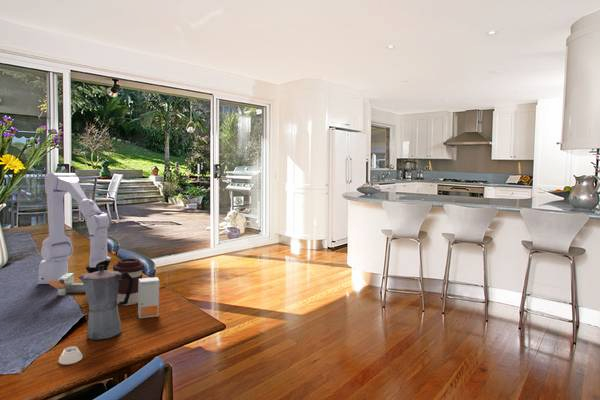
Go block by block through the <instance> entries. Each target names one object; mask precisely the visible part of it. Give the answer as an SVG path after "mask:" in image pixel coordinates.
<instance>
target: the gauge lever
mask: <svg viewBox="0 0 600 400" xmlns="http://www.w3.org/2000/svg"><path fill="white" fill-rule="evenodd" d="M48 284H49V286H51V287H53V288H54V289H55V290H58V289H65V288H66V285H64V284H62V283H60V282H59V281H48Z"/></svg>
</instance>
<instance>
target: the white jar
mask: <svg viewBox="0 0 600 400" xmlns="http://www.w3.org/2000/svg"><path fill="white" fill-rule="evenodd" d="M82 359H83V354H82V352H81V351H80V349H79V347H77V346H68V347H66V348H64V349H63V352H62V353H61V354H60V356H59V358H58V363H59V364H60V365H72V364H76V363H78V362H79V361H81V360H82Z"/></svg>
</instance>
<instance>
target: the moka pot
mask: <svg viewBox="0 0 600 400" xmlns="http://www.w3.org/2000/svg"><path fill="white" fill-rule="evenodd" d="M98 267H99V271H97V272H93V273H88V272H87V273H83V274H81V275H79V276H78V278H79V279H80V280H81V283H83V285H84V287H85V292H86V293H85V297H86V302H87V304H88V309H89V312H88V322H87V336H86V337H87V338H88V339H90V340H95V341H96V340H107V339H110V338H114V337H116V336H117V335H119V334H121V333H122V323H121V319H120V317H121V316H120V313H119V306H126V305H125V304H127V303H128V299H129V296H130V293H131V290H132V287H133V284H134V280H133V278H132V277H131V276H130V275H129V274H128V272H124V273H119V272H117V271H113V270H109V269H107V270H104V265H99V266H98ZM123 279H128V280H129V284H128V288H127V291H126V297H125V299H124V301H123V302H119V304H118V303H117V297H118V284H119V280H123Z"/></svg>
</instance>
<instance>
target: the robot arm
mask: <svg viewBox="0 0 600 400" xmlns="http://www.w3.org/2000/svg"><path fill="white" fill-rule="evenodd" d="M44 190H45V191H44V192H45V194H46V197H47V198H46V199H47V218H48V219H47V220H48V236H47V237H46V238H45V239H44V240H42V242H41V243H42V244H41V250H40V255H41V257H42V260H41V261H40V262H39V265H38V282H37V284H38V285H47V284H48V281H58V279H59V278H60V277H62V276H63V275H65V274H66V273H69V262H68V261H69V260H70V257H71V256H72V255H73V252H74V247H73V245H72V239H71V238H70V237H68V236H67V235H66V233H65V212H64V211H65V210H64V196H65V194H67V193H69V194H70V196H71V197H72V198H73V199H74V200H75V202H77V203H78V206H77V209H78V210H79V212H81V214H82V215H83V217H84V218H85V219H86V221H85V225H86V228H87V229H88V235H89V263H88V264H89V265H86V266H85V271H86V272H87V273H93V272H97V271H99V267H98V266H99V265H104V270H109V269H108V268H109V266H110V263H111V262H112V261H111V259H112V258H111V256H108V229H109V228H110V226H111V224H112V219H111V217H110V215H109V214H108V213H107V212H104V211H101V209H100V208H99V206H98V205H97V204H96V203H95V200H94V199H90V198H88V197H87V196H86V193H85V192H84V190H83V188H82V187H81V185H80V179H79V177H78V175H77V174H76V173H74V172H49V173H47V175H46V176H45V177H44Z"/></svg>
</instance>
